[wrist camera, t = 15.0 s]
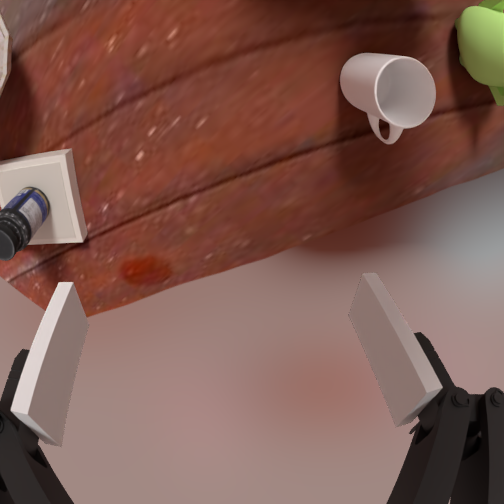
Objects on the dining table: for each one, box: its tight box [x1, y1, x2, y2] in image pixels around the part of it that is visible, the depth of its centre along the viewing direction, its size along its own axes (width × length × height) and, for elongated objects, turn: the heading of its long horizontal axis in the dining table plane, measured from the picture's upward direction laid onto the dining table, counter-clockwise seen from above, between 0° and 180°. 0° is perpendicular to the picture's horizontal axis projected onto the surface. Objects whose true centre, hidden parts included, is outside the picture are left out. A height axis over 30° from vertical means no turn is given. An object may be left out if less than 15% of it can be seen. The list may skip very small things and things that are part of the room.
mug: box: [340, 53, 436, 144], centre depth 34 cm, size 9×12×11 cm
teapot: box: [455, 0, 504, 106], centre depth 28 cm, size 20×13×13 cm
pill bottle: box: [0, 187, 50, 261], centre depth 34 cm, size 6×6×11 cm
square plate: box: [0, 149, 88, 245], centre depth 40 cm, size 14×14×3 cm
